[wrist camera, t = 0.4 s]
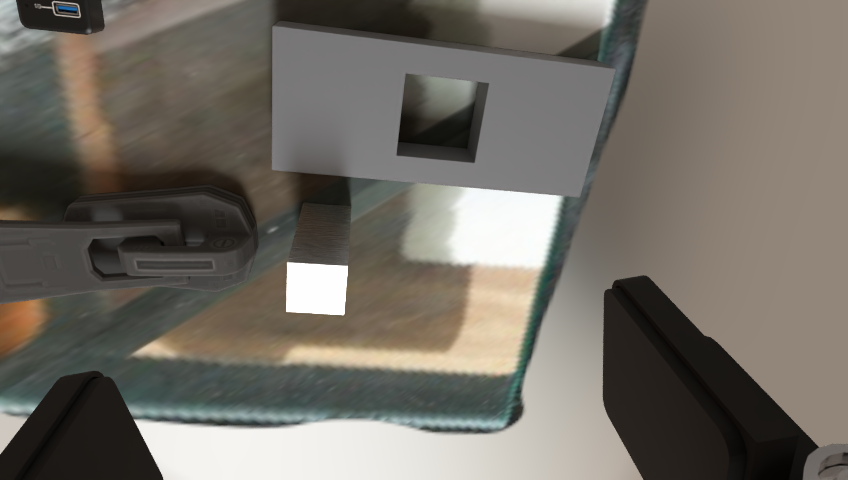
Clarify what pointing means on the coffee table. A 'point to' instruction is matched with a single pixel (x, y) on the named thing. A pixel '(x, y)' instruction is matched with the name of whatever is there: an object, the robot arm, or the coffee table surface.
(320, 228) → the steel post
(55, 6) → the multiport hub
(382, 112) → the grey block with hole
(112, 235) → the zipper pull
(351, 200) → the coffee table surface
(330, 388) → the coffee table surface
